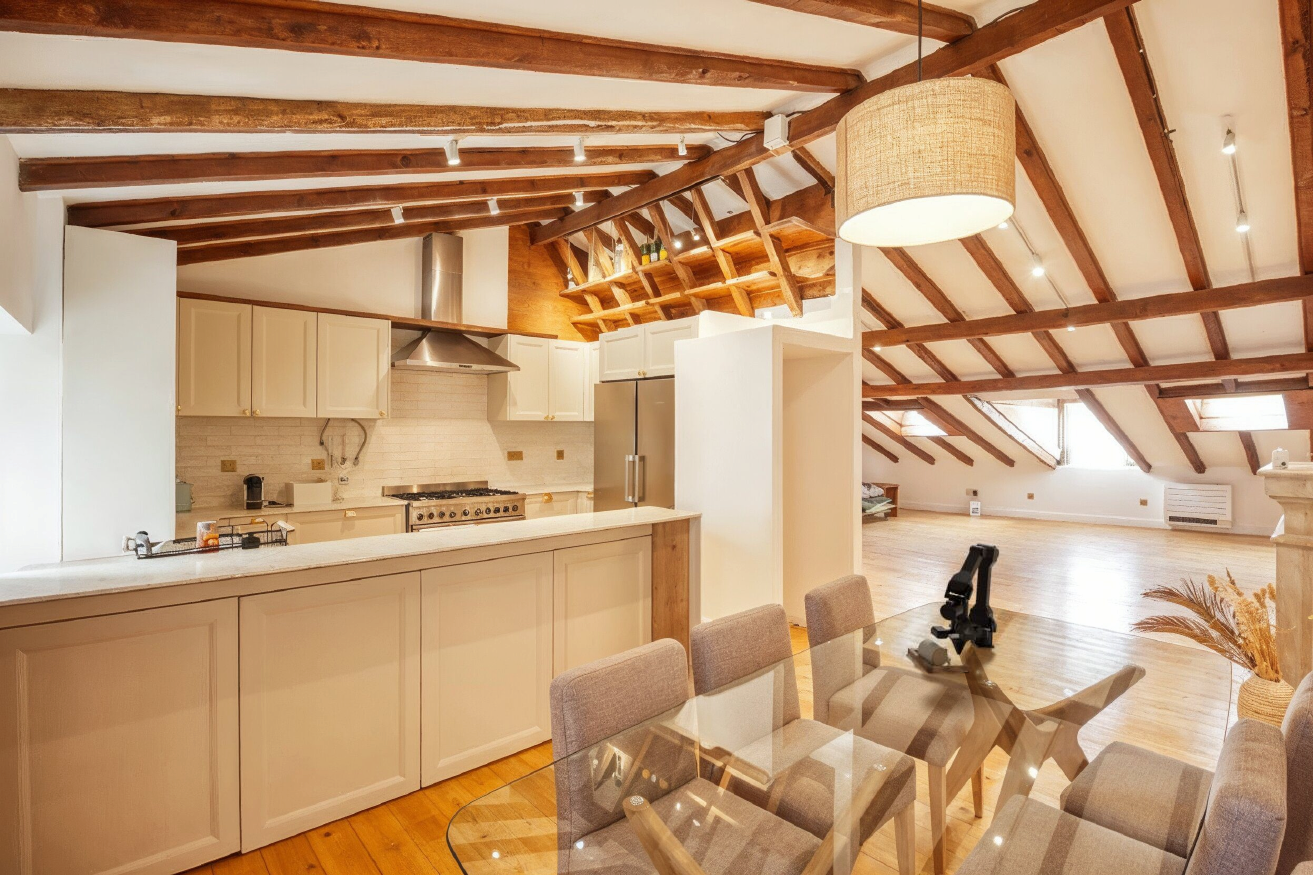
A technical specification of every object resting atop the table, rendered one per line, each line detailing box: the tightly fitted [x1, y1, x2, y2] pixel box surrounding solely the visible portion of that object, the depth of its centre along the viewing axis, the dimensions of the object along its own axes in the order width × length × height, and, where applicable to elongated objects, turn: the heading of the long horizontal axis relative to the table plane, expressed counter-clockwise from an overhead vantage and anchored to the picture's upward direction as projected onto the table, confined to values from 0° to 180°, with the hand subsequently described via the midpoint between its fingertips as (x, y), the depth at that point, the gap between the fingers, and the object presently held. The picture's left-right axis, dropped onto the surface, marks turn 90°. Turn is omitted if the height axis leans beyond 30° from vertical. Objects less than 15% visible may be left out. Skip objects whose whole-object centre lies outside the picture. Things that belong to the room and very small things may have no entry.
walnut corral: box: [907, 646, 970, 675], centre depth 231 cm, size 14×17×2 cm
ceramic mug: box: [917, 638, 952, 666], centre depth 231 cm, size 11×8×8 cm
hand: (958, 654), depth 231 cm, fingers closed
